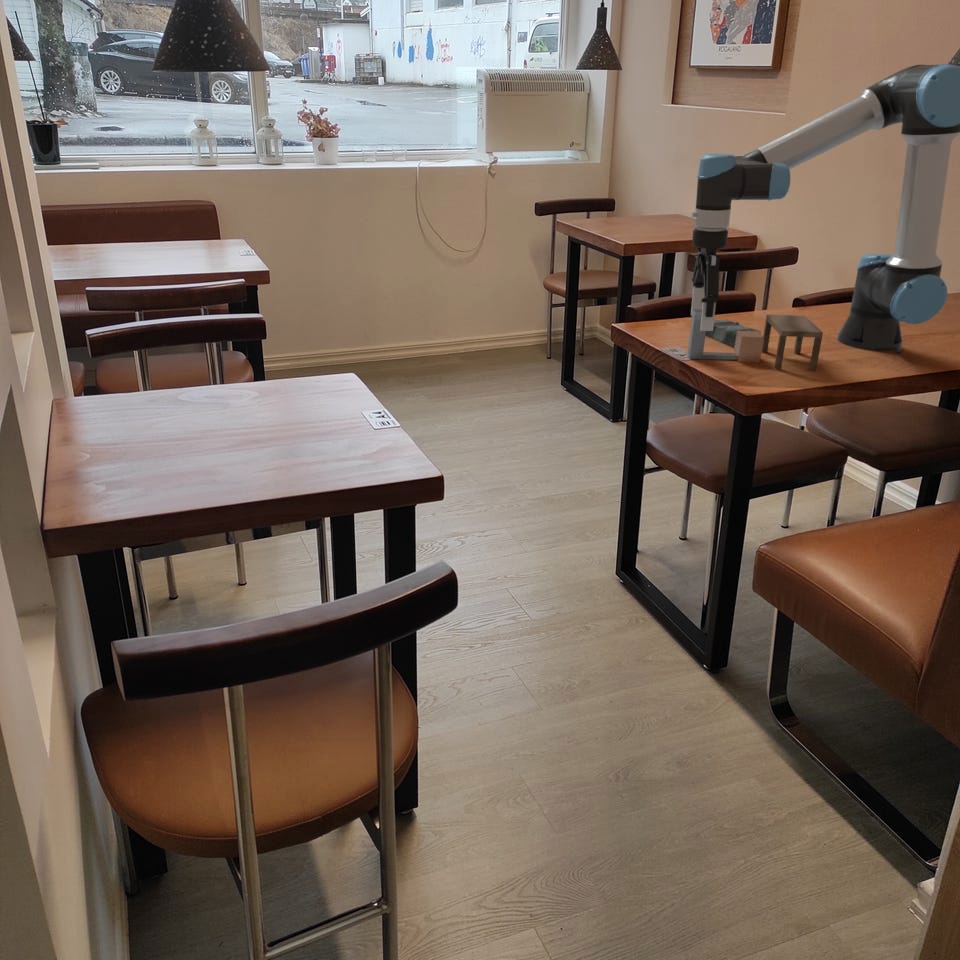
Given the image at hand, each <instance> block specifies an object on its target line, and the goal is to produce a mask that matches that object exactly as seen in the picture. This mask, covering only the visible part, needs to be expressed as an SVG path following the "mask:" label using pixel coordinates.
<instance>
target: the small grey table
mask: <svg viewBox="0 0 960 960" xmlns="http://www.w3.org/2000/svg"><path fill="white" fill-rule="evenodd" d="M772 328H773V329H774V330H775V331H776V332H777V334H779V336H778V342H777V343H778V344H777V350H776V356H775V361H774V370H780V371H781V370H782V366H783V359H784V354H785V348H786V343H787V341H786V340H787V337H792V338H793V337H795V342H794V349H793V354H796V355H800V354H801V351H802V345H803V340H804V338H814V340H813V345H812V352H811V357H810V360H809V361H810V362H809V368H808V370H809V371H810V372H817V367H818V362H819V356H820V351H821V345H822V339H823V334H824V332H823V331H822V330H821V328H819V327H818V326H817V325H816V324H815V323H813V322H812V321H811V319H809V318H808V317H807V316H806V315H793V314H792V315H790V314H789V315H788V314H787V315H786V314H766V317H765V324H764V329H763V334H762V336H763V337H764V339H763V345H762V352H761V354H765V353H767V354H768V350H769V343H770V337H771V330H772Z"/></svg>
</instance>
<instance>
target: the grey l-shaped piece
mask: <svg viewBox="0 0 960 960" xmlns="http://www.w3.org/2000/svg"><path fill="white" fill-rule="evenodd" d="M701 317H702V309H693V313H692V316H691V324H690V331H689V339H688V346H687V347H688V348H687V357H688V359H690V360H719V361H720V360H724V361H737V362H738V363H758V364H759V363H760V362H761V358H762V345H763V339H764V337H763V334H760V332H757V331H737V336H736V343H735V348H734V350H733V351H734V352H719V351H718V352H716V351H704V350H705V341H706V336H705V335H706V331H701V330H700V327H701Z"/></svg>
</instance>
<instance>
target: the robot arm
mask: <svg viewBox="0 0 960 960" xmlns="http://www.w3.org/2000/svg"><path fill="white" fill-rule="evenodd" d="M894 124H895V125H896V124H902V125H901V133H900V135H901V137H902V138H903V139H904V140H905V141H906V145H907V146H906V155H905V161H904V170H903V171H904V172H903V179H902V186H901V187H902V188H901V195H900V203H899V211H898V212H899V213H898V219H897V220H898V221H897V228H896V229H897V230H896V236H895V244H894V253H889V254H888V253H867V254H864V255H863V256H862V257H861V258H860V260H859V264H858V267H857V273H856V278H855V282H854V283H855V284H854V289H853V293H852V299H851V304H850V311H849V314H848V316H847V318H846V320H845V321H844V323H843V324H842V327H841V329H840V331H839V332H838V335H837V339H836V340H837V341H838V342H839V343H840V344H842V345H845V346H848V347H851V348H855V349H860V350H866V351H876V352H877V351H878V352H879V351H880V352H882V351H883V352H889V351H893V352H895V354H900V352H901V350H902V347H903V336H902V329H901V322H903V323H905V324H911V325H917V324H923V323H925V322H927V321H930V320H932V319H933V318H934V317H935V316H936V315H937V314H939V313H940V312H941V311H942V309H943V308H944V306H945V305H946V302H947V299H948V294H949V293H948V287H947V285H946V283H945V281H944V280H943V279H942V277H941V274H942V265H943V260H941V258H939V256H938V255H937V247H938V241H939V234H940V227H941V218H942V215H943V214H942V213H943V206H944V205H943V204H944V199H945V198H944V197H945V191H946V190H945V189H946V184H947V183H946V182H947V176H948V170H949V163H950V157H951V148H952V143H953V141H954V140H955V139H956V138H958V136H960V66H959V65H953V64H951V63H941V64H914V65H911V66H908V67H904V68H903V69H900V70H898V71H897V72H895V73H893V74H891V75H889V76H887V77H885V78H883V79H882V80H880V81H878V82H876V83H874V84H872V85H870V86H868V87H865V89H863V90H862V91H861V92H860V95H859V97H856V98H855V99H853V100H851V101H849V102H847V103H845V104H844V105H841V106H839V107H837V108H835V109H833V110H831V111H829V112H828V113H825V114H824V115H821V116H819V117H817V118H816V119H813V120H811V121H810V122H807V123H805V124H803V125H802V126H800V127H797V128H796V129H794V130H792V131H790V132H788V133H786V134H784V135H782V136H780V137H778V138H776V139H774V140H772V141H770V142H768V143H766V144H764V145H762V146H760V147H759V148H757V149H755V150H752V151H750V152H747V154H744V155H738V156H737V155H736V156H735V155H734V154H731V153H707V154H704V155H702V156H701V158H700V161H699V166H698V167H699V168H698V173H697V185H696V187H697V189H696V199H695V212H692V214H691V217H692V218H694V220H693V222H694V223H693V225H694V227H695V228H694V229H693V230H692V240H691V241H692V242H691V244H692V246H694V247H695V248H697V254H696V258H695V259H696V260H695V264H694V269H693V274H692V278H691V281H692V282H691V283H692V286H693V287H692V296H691V299H692V300H691V309H690V316H691V317H692V313H693V309H702V317H701V327H700V330H701V331H713V326H714V320H715V316H716V315H715V314H716V305H717V302H719V300H720V297H719V296H720V295H719V294H720V293H719V291H720V289H719V288H720V287H719V286H720V281H719V280H720V260H721V257H720V255H717V250H718V249H723V248H725V247H726V246H727V244H728V238H729V237H728V236H729V231H728V229H727V228H729V227H730V220H731V210H732V209H731V207H732V201H740V200H741V201H743V200H744V201H746V200H747V201H753V200H754V201H756V200H757V201H764V200H765V201H769V202H770V201H771V200H781V199H784V198H785V197H786V196H787V194H788V192H789V189H790V186H791V171H790V170H792V169H794V168H796V167H798V166H800V165H802V164H804V163H806V162H807V161H810V160H812V159H814V158H817V157H818V156H820V155H822V154H824V153H826V152H828V151H831V150H832V149H834V148H836V147H838V146H840V145H843V144H844V143H846V142H848V141H850V140H852V139H855V138H856V137H858V136H860V135H863V134H865V133H866V132H868V131H870V130H874V131H881V130H882V129H884V128H886V127H887V128H888V127H889V126H892V125H894Z"/></svg>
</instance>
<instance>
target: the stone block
mask: <svg viewBox="0 0 960 960" xmlns="http://www.w3.org/2000/svg"><path fill="white" fill-rule="evenodd" d="M737 331H757V332H760V334H761V333H762V332H761V331H760V330H758V329H755V328H752V327H749V326H746V325H743V324H740V323H739V321H736V322H735V321H732V320H729V319H716V320H715V319H714V326H713V331H706V335H705V337H707V338H710V339H712V340H714V341H716V342H719V343H721V344H724V345H726V346H728V347H730V348H732V349H735V343H736V336H737ZM761 335H762V334H761Z"/></svg>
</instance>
